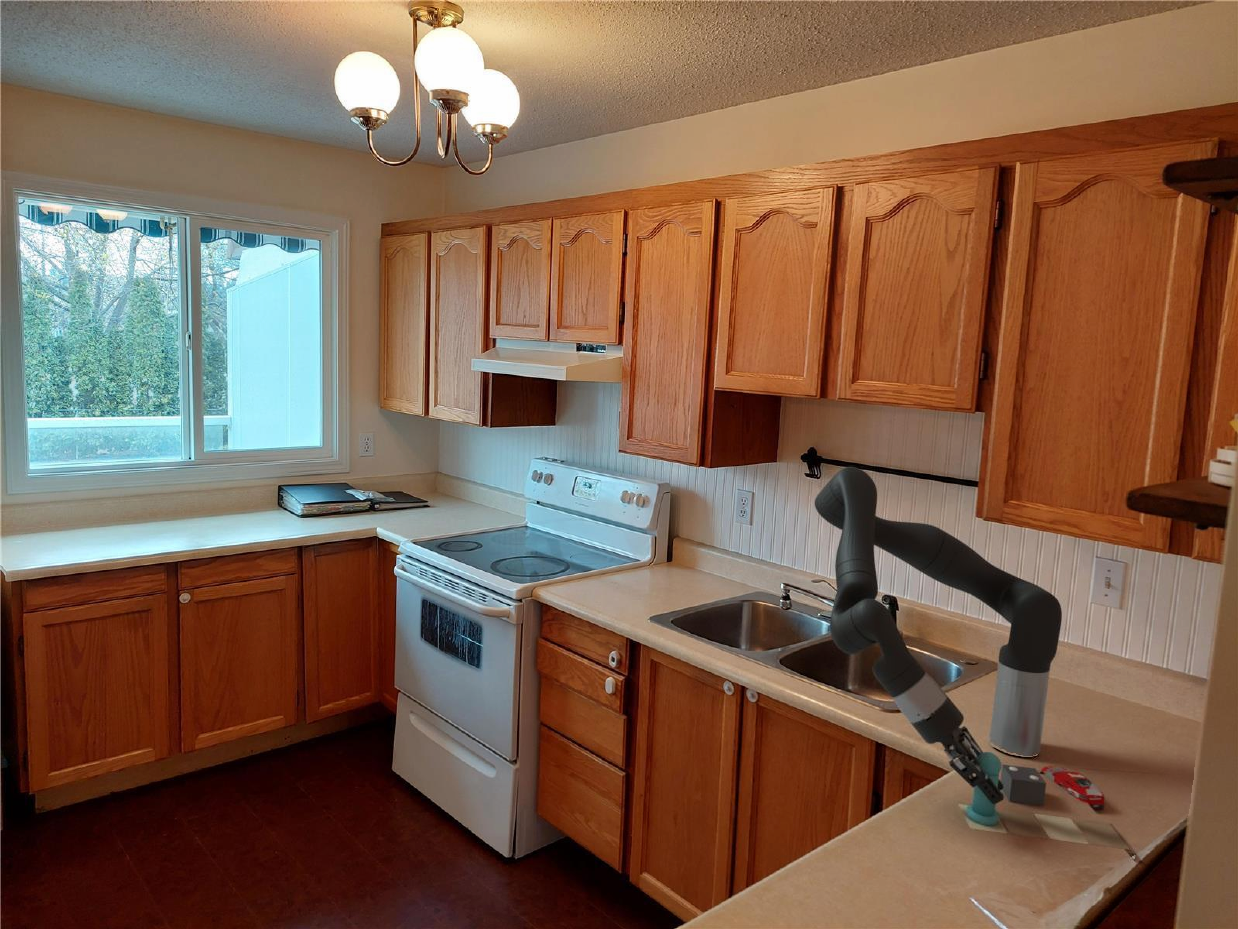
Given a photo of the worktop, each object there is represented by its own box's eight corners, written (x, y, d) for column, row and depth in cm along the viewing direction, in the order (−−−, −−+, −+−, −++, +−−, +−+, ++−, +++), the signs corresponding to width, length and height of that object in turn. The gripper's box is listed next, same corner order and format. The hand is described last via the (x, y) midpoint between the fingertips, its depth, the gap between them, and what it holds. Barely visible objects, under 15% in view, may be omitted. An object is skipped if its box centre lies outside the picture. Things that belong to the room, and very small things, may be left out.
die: (998, 794, 150) (1002, 763, 149) (1031, 798, 149) (1035, 767, 148) (1008, 809, 144) (1011, 778, 144) (1042, 814, 144) (1046, 782, 143)
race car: (1033, 776, 158) (1035, 756, 158) (1059, 776, 159) (1062, 756, 159) (1079, 813, 145) (1082, 791, 145) (1108, 813, 146) (1111, 791, 146)
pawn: (963, 808, 141) (970, 745, 139) (993, 812, 140) (1001, 748, 139) (970, 824, 136) (978, 758, 135) (1002, 828, 135) (1009, 761, 134)
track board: (952, 810, 143) (953, 801, 143) (1110, 830, 140) (1111, 822, 139) (965, 838, 134) (966, 829, 134) (1135, 861, 131) (1136, 852, 131)
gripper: (912, 704, 148) (980, 788, 144) (904, 734, 135) (979, 827, 132) (947, 681, 145) (1017, 766, 142) (943, 709, 132) (1020, 804, 129)
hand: (998, 795), depth 137 cm, fingers closed on pawn, 3 cm apart
